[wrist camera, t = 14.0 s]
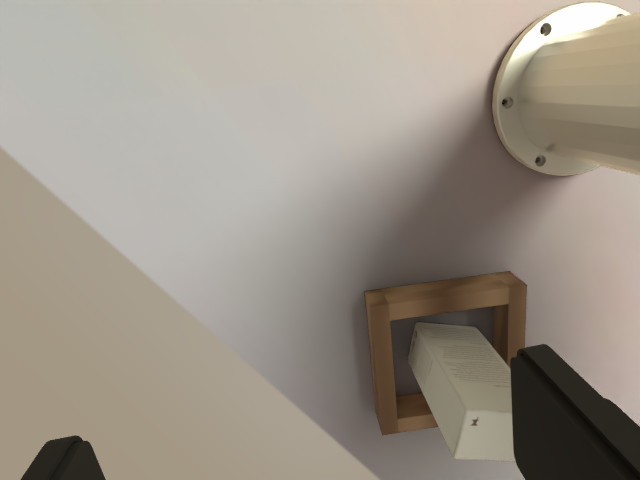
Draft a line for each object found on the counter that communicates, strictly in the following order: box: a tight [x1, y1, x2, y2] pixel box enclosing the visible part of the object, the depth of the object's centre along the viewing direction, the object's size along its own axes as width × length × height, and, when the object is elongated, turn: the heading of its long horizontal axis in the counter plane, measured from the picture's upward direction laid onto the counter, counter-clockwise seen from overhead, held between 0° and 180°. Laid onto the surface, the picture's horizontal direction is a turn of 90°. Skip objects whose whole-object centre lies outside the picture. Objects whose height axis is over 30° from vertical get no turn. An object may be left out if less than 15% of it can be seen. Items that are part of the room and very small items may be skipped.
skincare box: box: [408, 322, 515, 461], centre depth 36 cm, size 6×4×12 cm
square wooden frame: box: [364, 271, 527, 435], centre depth 40 cm, size 13×13×3 cm
